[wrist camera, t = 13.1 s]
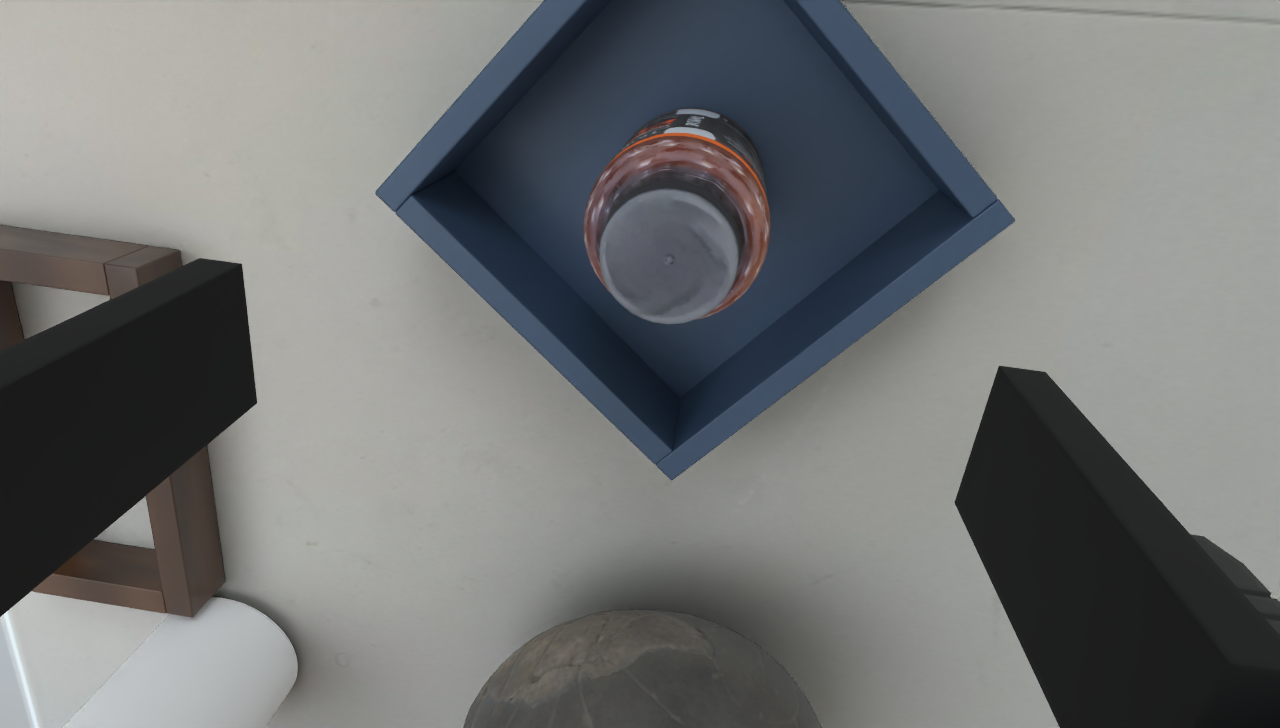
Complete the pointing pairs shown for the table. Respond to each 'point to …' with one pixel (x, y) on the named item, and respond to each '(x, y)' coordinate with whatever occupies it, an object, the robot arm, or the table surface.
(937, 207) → the blue square tray
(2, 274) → the rack
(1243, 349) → the table surface
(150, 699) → the beverage can
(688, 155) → the supplement bottle
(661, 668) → the bowl
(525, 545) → the table surface
